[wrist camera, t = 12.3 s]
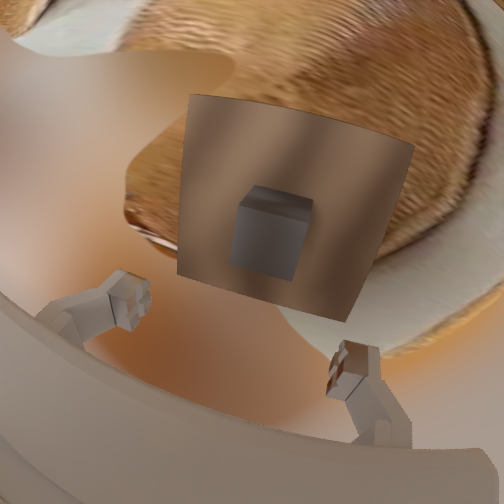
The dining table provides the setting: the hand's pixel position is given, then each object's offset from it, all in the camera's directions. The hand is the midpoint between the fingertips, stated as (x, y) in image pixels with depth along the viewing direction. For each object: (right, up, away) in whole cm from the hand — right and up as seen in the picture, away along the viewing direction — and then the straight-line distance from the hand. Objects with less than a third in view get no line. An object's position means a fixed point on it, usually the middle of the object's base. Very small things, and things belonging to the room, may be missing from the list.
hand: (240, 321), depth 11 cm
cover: (+3, +6, +10) cm, 12 cm away
